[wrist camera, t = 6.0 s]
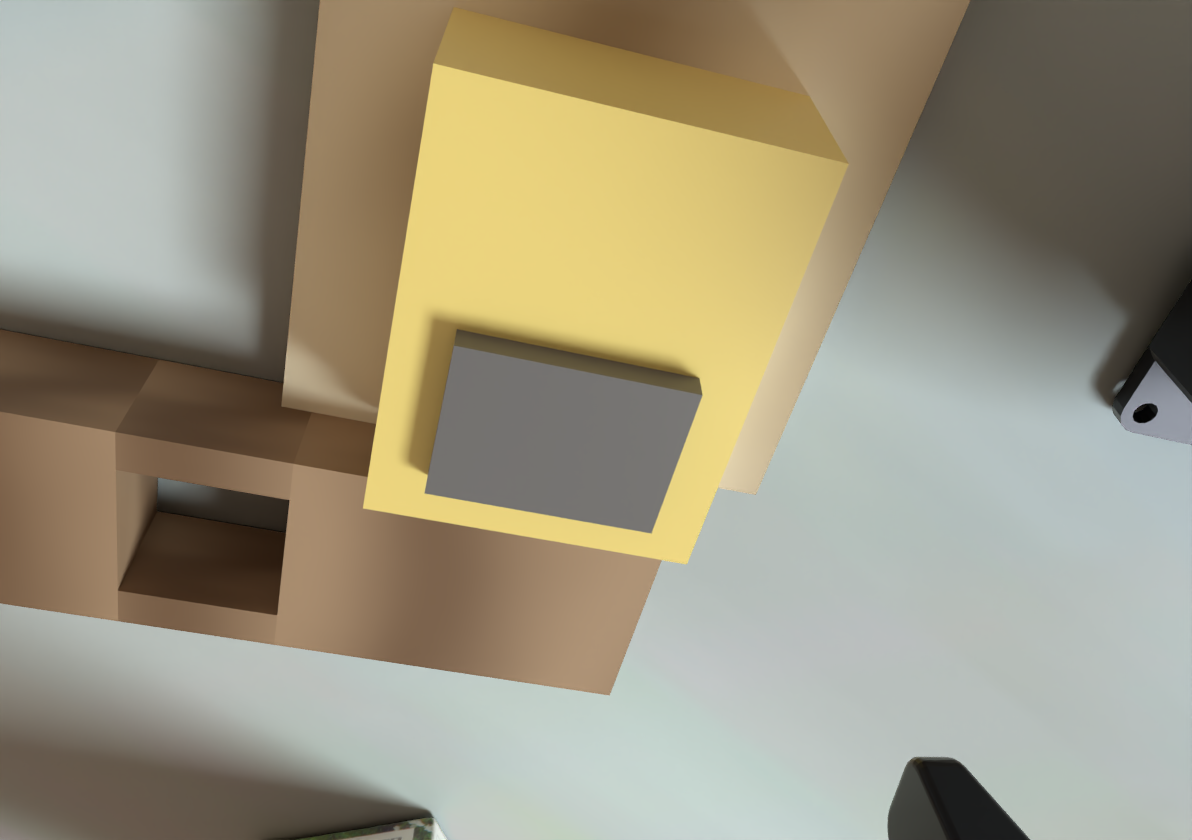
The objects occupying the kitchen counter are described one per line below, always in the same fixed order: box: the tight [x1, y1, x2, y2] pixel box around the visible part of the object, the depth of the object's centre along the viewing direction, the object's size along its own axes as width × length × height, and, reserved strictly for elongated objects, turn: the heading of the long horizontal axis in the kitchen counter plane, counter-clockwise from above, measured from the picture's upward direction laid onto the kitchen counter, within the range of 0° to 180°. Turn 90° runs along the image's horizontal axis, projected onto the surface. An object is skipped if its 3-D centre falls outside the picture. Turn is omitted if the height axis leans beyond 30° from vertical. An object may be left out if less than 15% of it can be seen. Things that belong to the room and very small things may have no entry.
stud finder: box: [363, 7, 849, 564], centre depth 18 cm, size 6×8×4 cm
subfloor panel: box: [281, 0, 971, 495], centre depth 18 cm, size 10×15×1 cm, turn 166°
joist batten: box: [0, 329, 662, 695], centre depth 22 cm, size 15×5×2 cm, turn 76°
